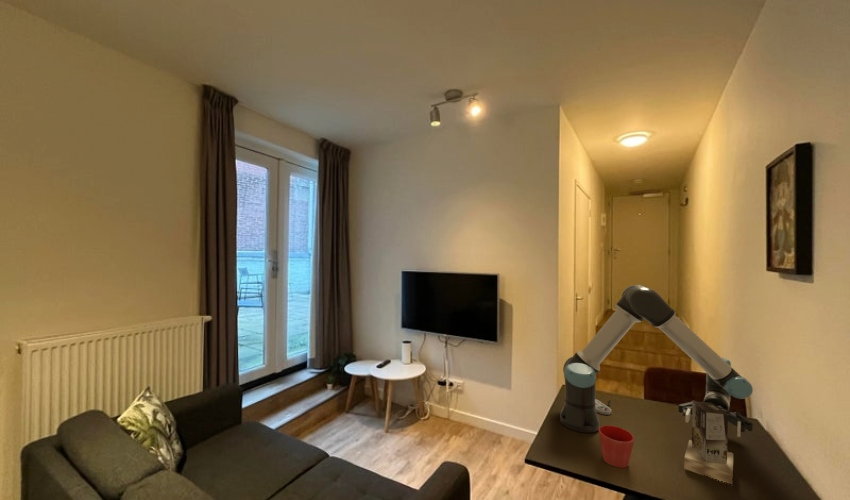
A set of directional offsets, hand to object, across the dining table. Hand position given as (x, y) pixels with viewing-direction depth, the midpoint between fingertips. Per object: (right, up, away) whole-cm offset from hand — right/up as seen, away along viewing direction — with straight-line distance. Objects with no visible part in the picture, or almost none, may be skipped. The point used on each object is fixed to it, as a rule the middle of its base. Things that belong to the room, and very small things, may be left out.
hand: (711, 425), depth 118 cm
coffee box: (-1, -10, 0) cm, 10 cm away
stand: (-1, -14, 0) cm, 14 cm away
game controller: (-14, -14, +44) cm, 48 cm away
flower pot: (-31, -14, +2) cm, 34 cm away
